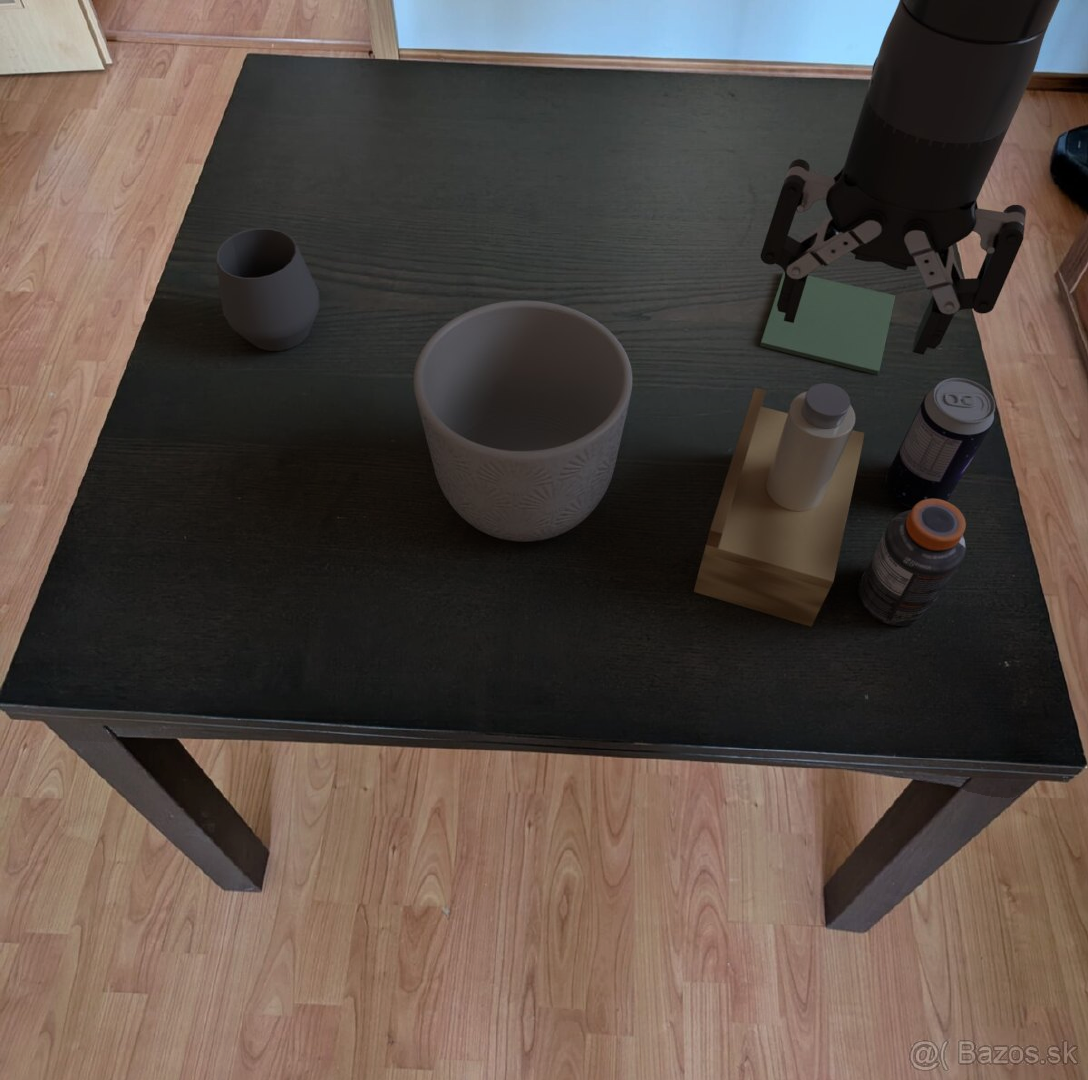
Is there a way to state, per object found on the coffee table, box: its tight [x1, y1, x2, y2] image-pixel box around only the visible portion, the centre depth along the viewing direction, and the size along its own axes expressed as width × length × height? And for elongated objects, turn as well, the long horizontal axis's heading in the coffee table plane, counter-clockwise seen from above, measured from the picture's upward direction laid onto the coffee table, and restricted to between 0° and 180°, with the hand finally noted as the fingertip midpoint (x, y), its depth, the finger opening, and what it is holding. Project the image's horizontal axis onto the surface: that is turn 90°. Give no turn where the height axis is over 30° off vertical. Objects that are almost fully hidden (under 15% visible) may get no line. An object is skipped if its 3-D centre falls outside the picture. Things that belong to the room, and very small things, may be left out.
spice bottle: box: [766, 382, 856, 511], centre depth 72 cm, size 5×5×10 cm
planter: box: [413, 299, 633, 542], centre depth 79 cm, size 17×17×15 cm
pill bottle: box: [858, 499, 967, 627], centre depth 74 cm, size 6×6×11 cm
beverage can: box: [885, 377, 996, 509], centre depth 80 cm, size 6×6×12 cm
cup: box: [215, 227, 320, 352], centre depth 92 cm, size 10×9×10 cm
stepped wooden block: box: [693, 387, 866, 628], centre depth 79 cm, size 10×16×9 cm, turn 160°
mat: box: [759, 271, 896, 376], centre depth 98 cm, size 12×12×1 cm
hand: (854, 329), depth 62 cm, fingers open, 8 cm apart
